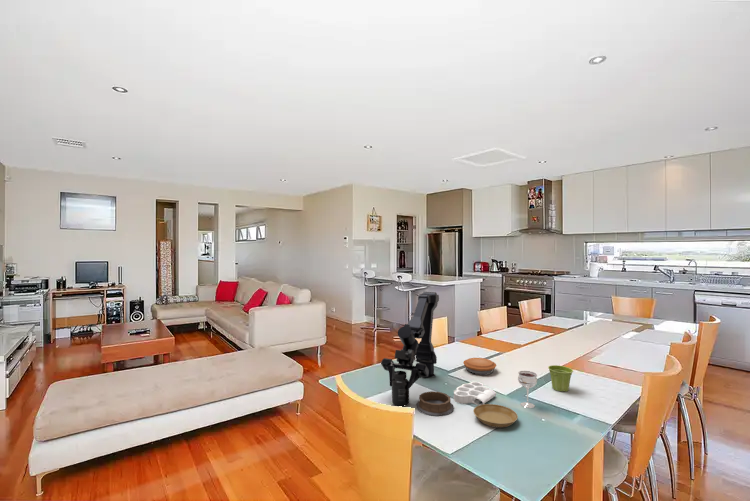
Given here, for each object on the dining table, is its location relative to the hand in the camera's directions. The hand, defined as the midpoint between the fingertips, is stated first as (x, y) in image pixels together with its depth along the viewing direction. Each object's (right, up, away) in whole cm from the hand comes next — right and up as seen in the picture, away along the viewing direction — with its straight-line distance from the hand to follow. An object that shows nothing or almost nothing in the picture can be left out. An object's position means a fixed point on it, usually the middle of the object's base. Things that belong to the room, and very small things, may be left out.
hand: (399, 387), depth 138 cm
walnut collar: (+13, -7, -2) cm, 15 cm away
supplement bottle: (+1, -7, +1) cm, 7 cm away
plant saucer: (+33, -7, -12) cm, 36 cm away
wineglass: (+49, -6, -1) cm, 50 cm away
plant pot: (+69, -6, +14) cm, 71 cm away
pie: (+42, -6, +37) cm, 56 cm away
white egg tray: (+30, -7, +7) cm, 32 cm away
